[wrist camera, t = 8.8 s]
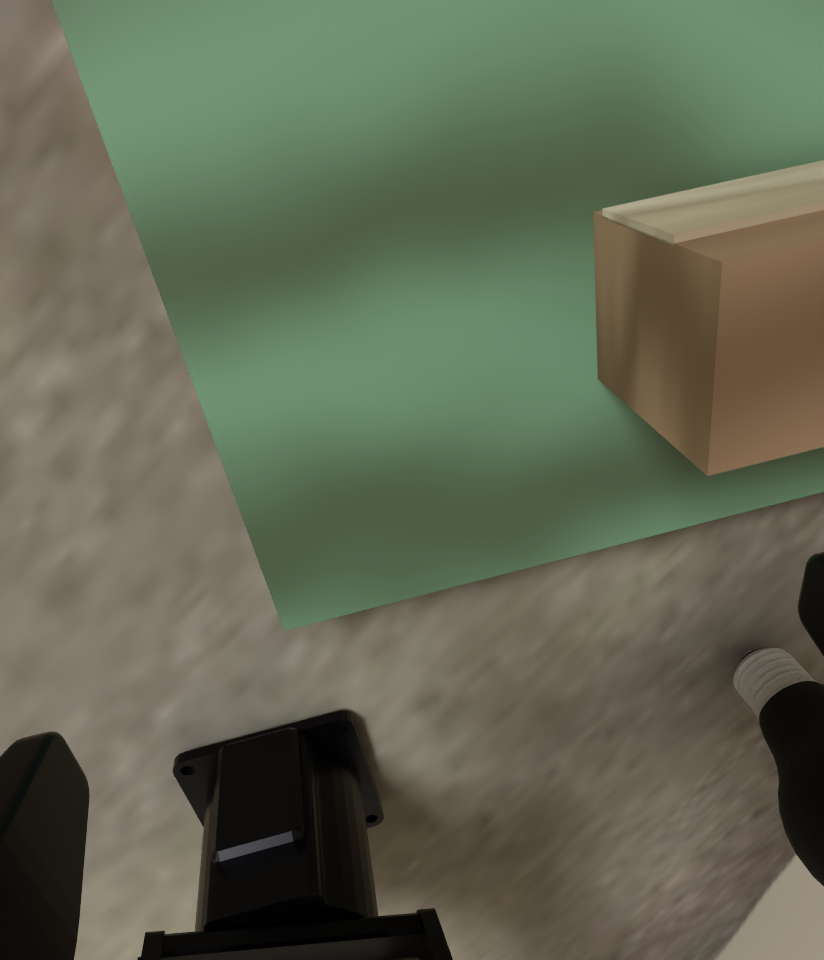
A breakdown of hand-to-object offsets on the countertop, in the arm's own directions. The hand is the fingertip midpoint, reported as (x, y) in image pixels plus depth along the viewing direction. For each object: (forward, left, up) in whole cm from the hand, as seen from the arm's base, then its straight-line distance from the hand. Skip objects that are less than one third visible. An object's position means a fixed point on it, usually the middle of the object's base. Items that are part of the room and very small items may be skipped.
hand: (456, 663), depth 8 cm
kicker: (+1, -9, -9) cm, 13 cm away
